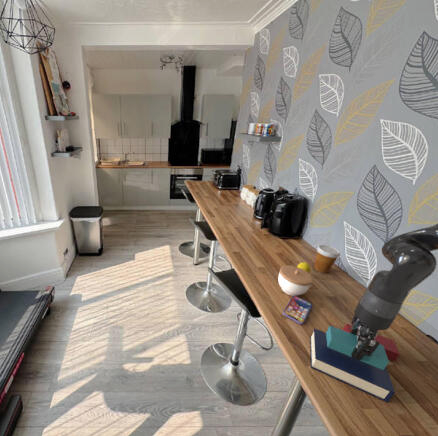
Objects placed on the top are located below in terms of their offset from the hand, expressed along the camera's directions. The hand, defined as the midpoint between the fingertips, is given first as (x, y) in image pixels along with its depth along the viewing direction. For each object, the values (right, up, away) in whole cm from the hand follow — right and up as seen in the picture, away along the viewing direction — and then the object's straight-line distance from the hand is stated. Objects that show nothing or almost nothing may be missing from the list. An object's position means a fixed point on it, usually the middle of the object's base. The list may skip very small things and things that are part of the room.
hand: (353, 348), depth 71 cm
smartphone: (-1, +2, +24) cm, 24 cm away
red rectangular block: (+14, -4, +10) cm, 18 cm away
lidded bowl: (+2, +7, +35) cm, 36 cm away
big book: (0, -7, +3) cm, 8 cm away
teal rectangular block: (0, -1, 0) cm, 1 cm away
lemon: (+13, +11, +45) cm, 48 cm away
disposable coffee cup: (+28, +13, +51) cm, 60 cm away
